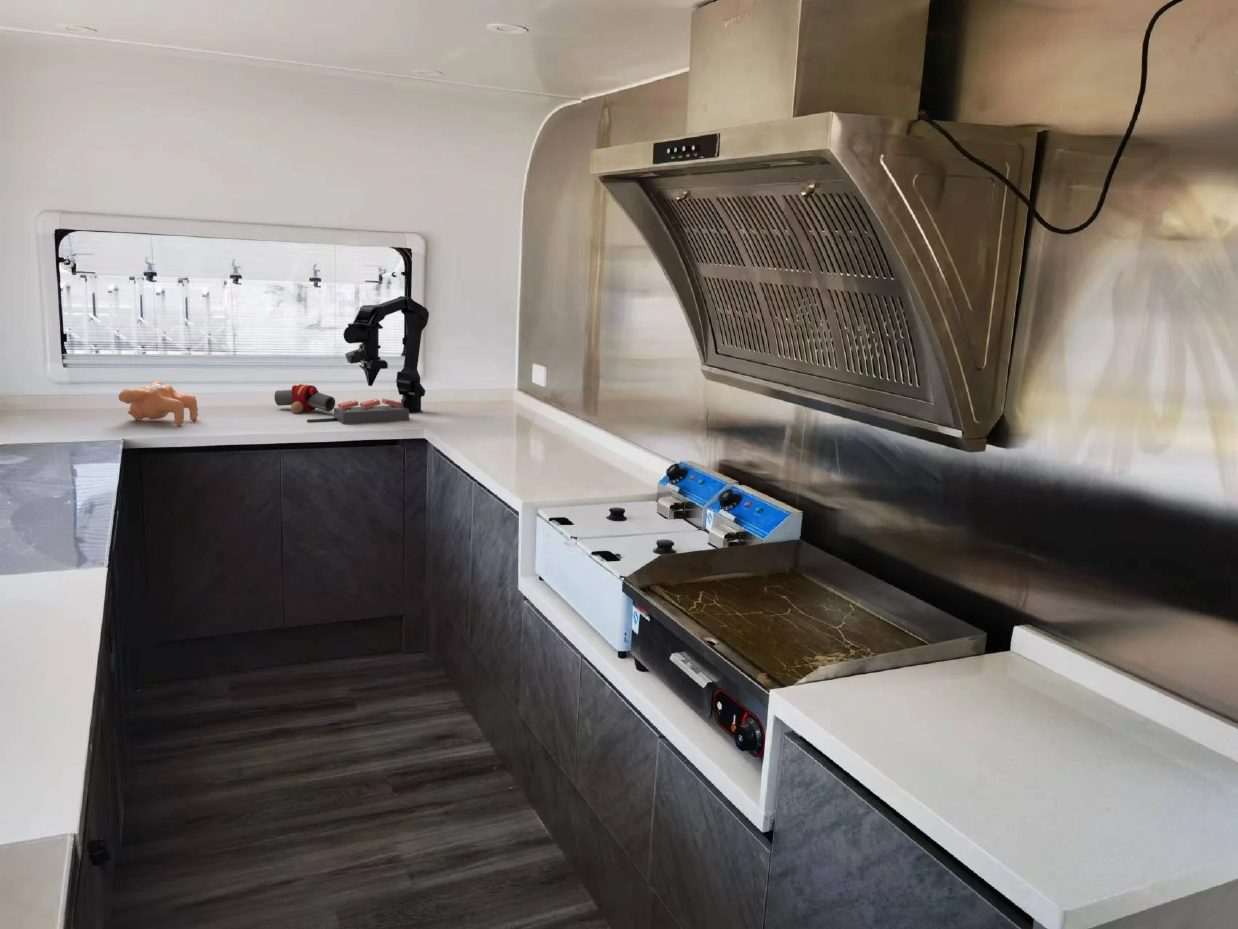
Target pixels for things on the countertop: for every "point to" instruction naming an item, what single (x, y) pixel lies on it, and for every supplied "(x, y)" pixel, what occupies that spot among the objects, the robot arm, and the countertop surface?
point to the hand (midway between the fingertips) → (370, 385)
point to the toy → (304, 399)
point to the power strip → (368, 415)
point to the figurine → (159, 402)
